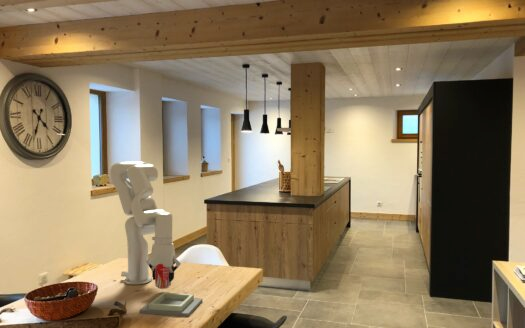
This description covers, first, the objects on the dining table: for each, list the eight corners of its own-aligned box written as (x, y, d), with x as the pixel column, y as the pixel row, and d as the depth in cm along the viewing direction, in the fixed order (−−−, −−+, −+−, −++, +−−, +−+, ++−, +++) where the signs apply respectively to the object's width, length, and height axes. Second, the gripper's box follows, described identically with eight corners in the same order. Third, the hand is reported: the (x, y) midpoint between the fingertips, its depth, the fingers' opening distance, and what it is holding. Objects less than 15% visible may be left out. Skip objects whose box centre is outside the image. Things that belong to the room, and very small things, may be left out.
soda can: (156, 284, 187) (156, 258, 186) (172, 283, 187) (172, 258, 187) (153, 289, 180) (153, 262, 179) (170, 289, 180) (170, 262, 180)
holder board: (139, 313, 160) (139, 304, 160) (157, 298, 176) (157, 291, 176) (188, 316, 156) (188, 308, 156) (202, 301, 172) (202, 293, 172)
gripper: (141, 241, 180) (141, 280, 181) (178, 243, 177) (178, 284, 178) (149, 237, 188) (148, 275, 189) (185, 239, 184) (184, 278, 185)
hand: (163, 279), depth 183 cm, fingers closed on soda can, 7 cm apart
